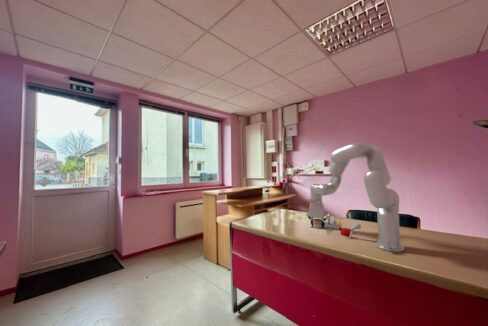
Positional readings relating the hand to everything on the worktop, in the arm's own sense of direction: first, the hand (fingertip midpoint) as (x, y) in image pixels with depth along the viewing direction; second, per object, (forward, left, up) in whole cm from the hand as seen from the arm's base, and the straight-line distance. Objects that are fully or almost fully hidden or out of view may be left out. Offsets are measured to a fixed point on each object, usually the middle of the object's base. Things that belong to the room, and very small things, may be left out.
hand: (317, 226), depth 145 cm
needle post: (+11, -6, -1) cm, 13 cm away
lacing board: (+6, -3, -2) cm, 7 cm away
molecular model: (-9, -19, -2) cm, 21 cm away
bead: (0, 0, 0) cm, 0 cm away
